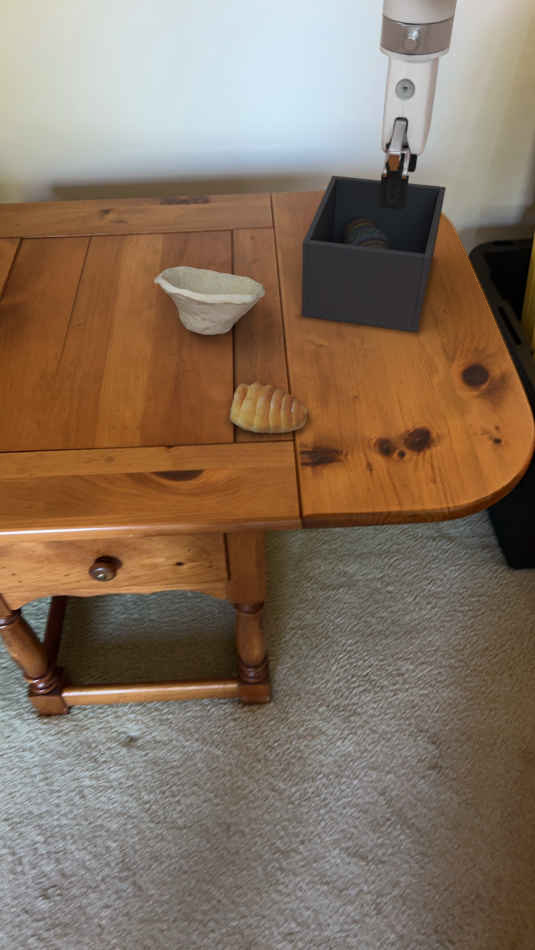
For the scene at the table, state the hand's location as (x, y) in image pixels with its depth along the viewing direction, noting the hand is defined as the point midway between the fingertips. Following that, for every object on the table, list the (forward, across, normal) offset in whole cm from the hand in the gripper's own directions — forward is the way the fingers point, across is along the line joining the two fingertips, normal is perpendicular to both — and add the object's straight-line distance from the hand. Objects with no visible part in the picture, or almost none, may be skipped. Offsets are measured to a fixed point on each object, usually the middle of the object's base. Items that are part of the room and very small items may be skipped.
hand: (397, 188), depth 84 cm
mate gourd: (+13, +2, +2) cm, 14 cm away
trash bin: (+17, +3, +3) cm, 18 cm away
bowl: (+17, -11, +23) cm, 30 cm away
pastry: (+17, -27, +11) cm, 34 cm away
